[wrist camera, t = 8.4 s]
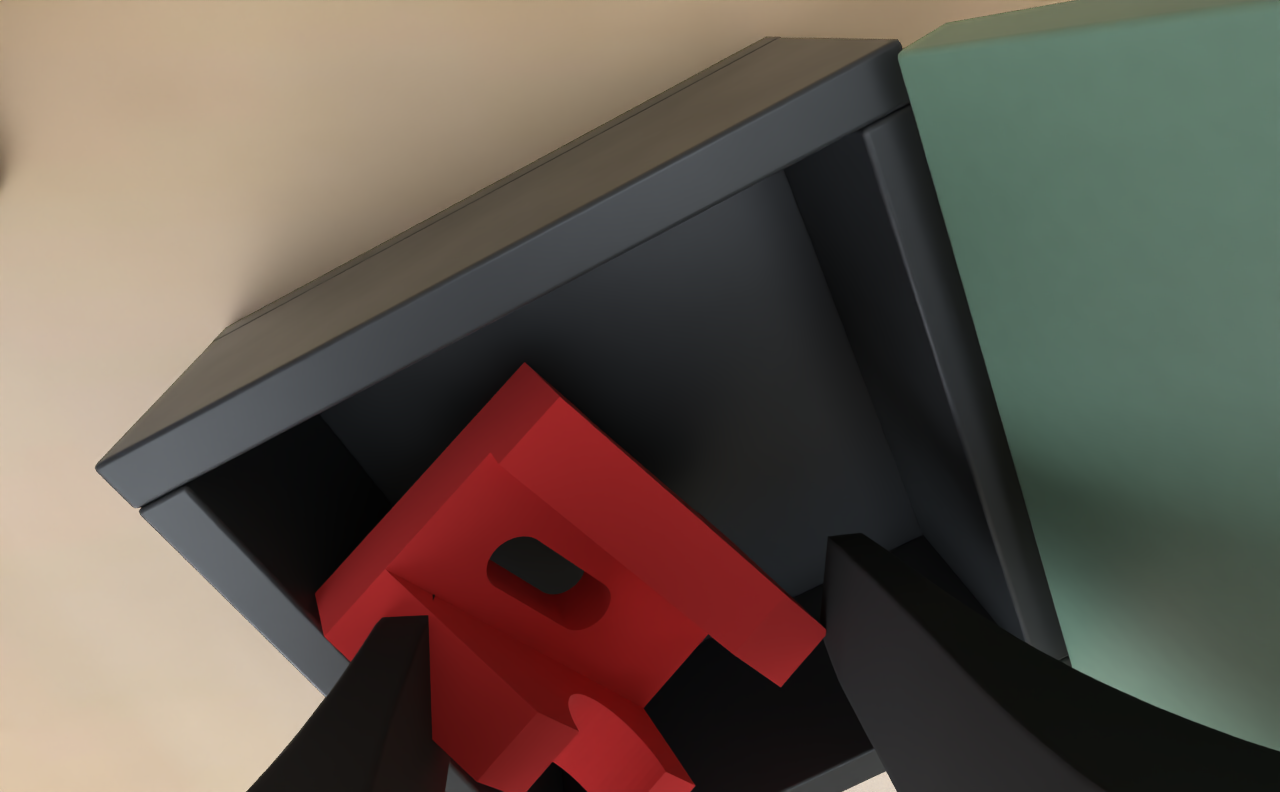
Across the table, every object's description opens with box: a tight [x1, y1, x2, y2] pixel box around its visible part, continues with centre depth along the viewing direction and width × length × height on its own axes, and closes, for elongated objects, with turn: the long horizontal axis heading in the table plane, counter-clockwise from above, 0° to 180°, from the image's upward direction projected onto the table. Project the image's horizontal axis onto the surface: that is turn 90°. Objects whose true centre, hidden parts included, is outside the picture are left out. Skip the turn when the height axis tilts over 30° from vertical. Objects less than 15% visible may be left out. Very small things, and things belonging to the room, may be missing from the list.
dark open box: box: [95, 37, 1072, 792], centre depth 15 cm, size 12×13×5 cm
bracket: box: [315, 362, 826, 792], centre depth 13 cm, size 6×5×3 cm
